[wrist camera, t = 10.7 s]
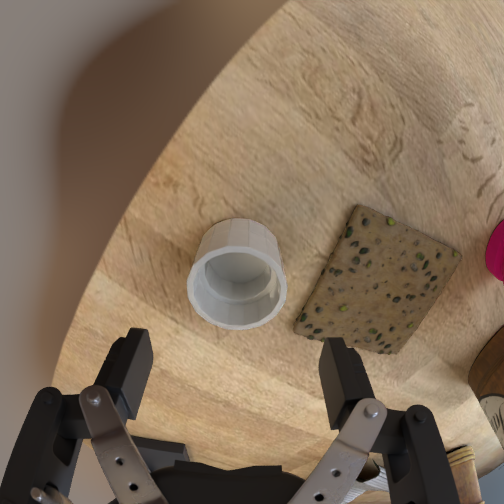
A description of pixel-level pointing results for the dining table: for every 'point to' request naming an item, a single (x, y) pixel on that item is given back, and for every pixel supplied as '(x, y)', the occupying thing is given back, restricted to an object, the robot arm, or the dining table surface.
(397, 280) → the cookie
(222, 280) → the white cup
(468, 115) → the dining table surface
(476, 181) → the dining table surface
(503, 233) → the pepper mill
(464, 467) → the tankard
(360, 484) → the mat
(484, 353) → the wooden container
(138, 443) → the scale
